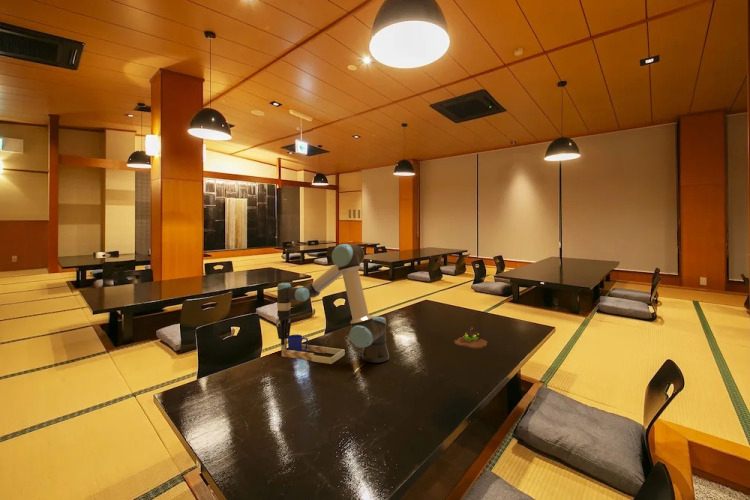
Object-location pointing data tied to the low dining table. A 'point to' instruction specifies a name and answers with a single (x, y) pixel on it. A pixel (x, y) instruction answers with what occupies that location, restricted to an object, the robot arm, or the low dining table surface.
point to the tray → (329, 360)
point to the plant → (471, 341)
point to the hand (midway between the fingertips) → (283, 349)
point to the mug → (296, 343)
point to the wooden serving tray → (303, 354)
